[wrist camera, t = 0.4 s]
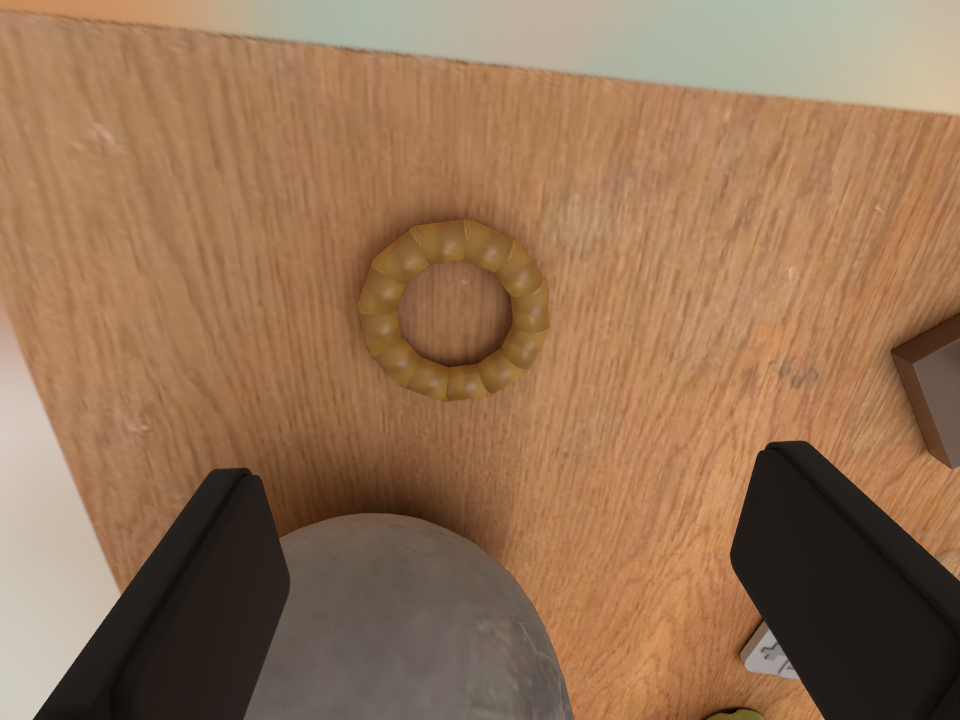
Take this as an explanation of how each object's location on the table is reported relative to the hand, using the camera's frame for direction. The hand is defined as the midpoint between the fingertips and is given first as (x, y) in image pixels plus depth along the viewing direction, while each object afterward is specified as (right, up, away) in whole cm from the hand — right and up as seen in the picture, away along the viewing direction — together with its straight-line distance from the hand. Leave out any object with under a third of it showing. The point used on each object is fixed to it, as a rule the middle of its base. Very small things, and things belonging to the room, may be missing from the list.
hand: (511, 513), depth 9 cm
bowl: (-7, -11, +23) cm, 27 cm away
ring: (-2, +5, +14) cm, 15 cm away
